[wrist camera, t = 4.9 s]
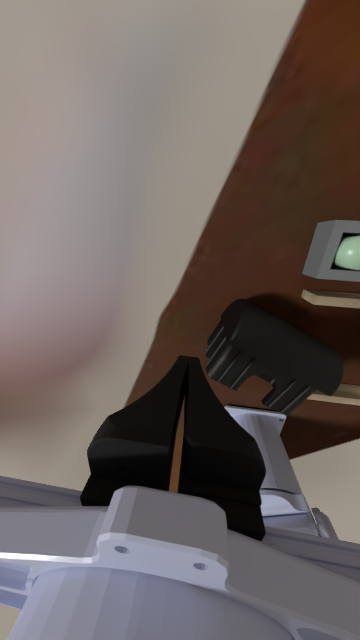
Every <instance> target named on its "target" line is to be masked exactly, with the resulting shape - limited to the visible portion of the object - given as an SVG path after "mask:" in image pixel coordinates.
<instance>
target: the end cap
mask: <svg viewBox="0 0 360 640" xmlns="http://www.w3.org/2000/svg"><path fill="white" fill-rule="evenodd" d="M221 318H222V319H221V321H220V322H219V324H218V325H217V327H216V328H215V330H214V331H213V333H212V334H211V336H210V337H209V339H208V346H209V347H208V348H207V350H206V351H205V353H206V357H207V358H210V359H209V360H208V362H207V363H206V364H205V365H206V372H207V375H208V376H209V377H210V378H212V379H213V380H215V381H217V382H219V383H221V384H223V385H225V386H227V387H229V388H231V389H233V390H235V391H236V390H237V389H238V388H239V387H240V385H241V384H242V383H243V382H244V381H245V380H246V379H247V378H248V377H250V376H252V375H256V376H258V377H260V378H262V379H264V380H266V381H268V382H270V383H271V384H272V386H273V389H272V390H271V391H270V392H269V393H268V394H267V395H266V396H265V397H264V398H263V399H262V403H263V404H264V405H266V406H268V407H270V408H272V409H274V410H276V411H278V412H280V413H282V414H284V415H286V416H288V415H289V414H290V413H291V412H292V411H294V410H295V409H296V408H297V407H298V406H299V405H300V404H301V403H303V402H304V401H305V400H306V399H307V398H308V397H309V396H310V395H312V394H313V393H314V392H315V391H316V390H318V391H320V392H322V393H324V394H326V395H328V396H330V397H331V396H332V395H333V394H334V393H335V392H336V390H337V389H338V387H339V386H340V384H341V381H342V379H343V374H344V365H343V361H342V358H341V356H340V355H339V353H338V352H337V351H336V350H335V349H334V348H332V347H330V346H329V345H327V344H325V343H323V342H321V341H320V340H318V339H316V338H314V337H312V336H310V335H309V334H307V333H305V332H303V331H301V330H299V329H298V328H296V327H294V326H292V325H290V324H288V323H287V322H285V321H283V320H281V319H279V318H277V317H275V316H274V315H272V314H270V313H268V312H266V311H264V310H263V309H261V308H259V307H257V306H255V305H253V304H252V303H250V302H248V301H246V300H244V299H238V300H236V301H234V302H233V303H232V304H230V305H229V306H228V307H227V309H226V310H225V311H224V312H223V314H222V315H221ZM212 354H213V355H212Z"/></svg>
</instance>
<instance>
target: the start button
mask: <svg viewBox="0 0 360 640" xmlns="http://www.w3.org/2000/svg"><path fill="white" fill-rule="evenodd" d="M332 265H334V266H339V267H344V268H350V269H355V270H360V236H346V237H341V240H340V243H339V245H338V248H337V251H336V254H335V256H334V259H333V262H332Z"/></svg>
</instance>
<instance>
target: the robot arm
mask: <svg viewBox="0 0 360 640" xmlns="http://www.w3.org/2000/svg"><path fill="white" fill-rule="evenodd" d="M184 395H185V404H184V436H183V446H182V455H181V465H180V474H179V484H178V493H174V492H169V484H170V477H171V469H172V462H173V454H174V447H175V439H176V432H177V427H178V422H179V418H180V413H181V409H182V404H183V400H184ZM285 420H286V415H284V414H282V413H280V412H275V411H267V410H259V409H252V408H244V407H236V406H229V405H227V406H225V407H223V405H222V404H221V402H220V401H219V400H218V398H217V397H216V395H215V394H214V392H213V390H212V389H211V387H210V385H209V383H208V381H207V379H206V377H205V375H204V372H203V370H202V367H201V364H200V360H199V358H196V357H188V356H178V358H177V360H176V362H175V363H174V365H173V366H172V367H171V369H170V370H169V371H168V372H167V374H166V375H165V376H164V377H163V378H162V379H161V380H160V381H159V382H158V383H157V384H156V385H155V386H154V387H153V388H152V389H151V390H150V391H148V392H147V393H146V394H145V395H143V396H142V397H141V398H139V399H138V400H136V401H135V402H133V403H132V404H130V405H128V406H127V407H125V408H123V409H121V410H119V411H117V412H115V413H114V414H112V415H109V416H108V417H107V418H106V420H105V421H104V422H103V424H102V425H101V426H100V428H99V429H98V431H97V433H96V434H95V436H94V438H93V440H92V442H91V444H90V446H89V447H88V450H87V456H88V461H89V467H90V472H91V475H90V477H89V479H88V481H87V483H86V485H85V487H84V490H83V491H78V490H73V489H67V488H62V487H56V486H51V485H46V484H41V483H35V482H30V481H25V480H20V479H15V478H9V477H4V476H0V604H3V605H5V606H8V607H12V608H14V609H18V610H20V611H21V612H20V614H19V616H18V619H17V620H16V622H15V624H14V626H13V628H12V630H11V633H10V634H9V637H8V639H7V640H360V544H357V543H352V542H346V541H341V540H339V539H338V537H337V535H336V533H335V530H334V528H333V526H332V524H331V522H330V520H329V518H328V517H327V516H326V515H325V514H324V513H322V512H320V510H319V509H318V508H312V512H313V514H314V517H315V520H316V522H317V525H316V523H315V520H314V518H313V516H312V513H311V511H310V509H309V506H308V504H307V502H306V499H305V497H304V495H303V494H302V491H301V489H300V486H299V484H298V481H297V479H296V476H295V474H294V471H293V468H292V466H291V463H290V460H289V458H288V455H287V453H286V450H285V448H284V445H283V443H282V440H281V437H280V433H281V430H282V428H283V425H284V422H285ZM317 526H318V528H317ZM318 529H319V530H318ZM319 532H320V533H319ZM320 534H321V535H320Z"/></svg>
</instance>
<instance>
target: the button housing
mask: <svg viewBox="0 0 360 640" xmlns="http://www.w3.org/2000/svg"><path fill="white" fill-rule="evenodd" d="M342 234H346V235H358V236H360V221H348V220H332V221H326V222H320V223H318V224H317V227H316V230H315V233H314V237H313V240H312V243H311V246H310V250H309V253H308V256H307V259H306V263H305V266H304V269H303V273H302V274H304V275H307V276H310V277H313V278H317V279H330V280H344V281H358V282H360V270H355V269H350V268H339V267H331V265H332V262H333V259H334V256H335V254H336V251H337V248H338V245H339V243H340V240H341V237H342Z"/></svg>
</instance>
